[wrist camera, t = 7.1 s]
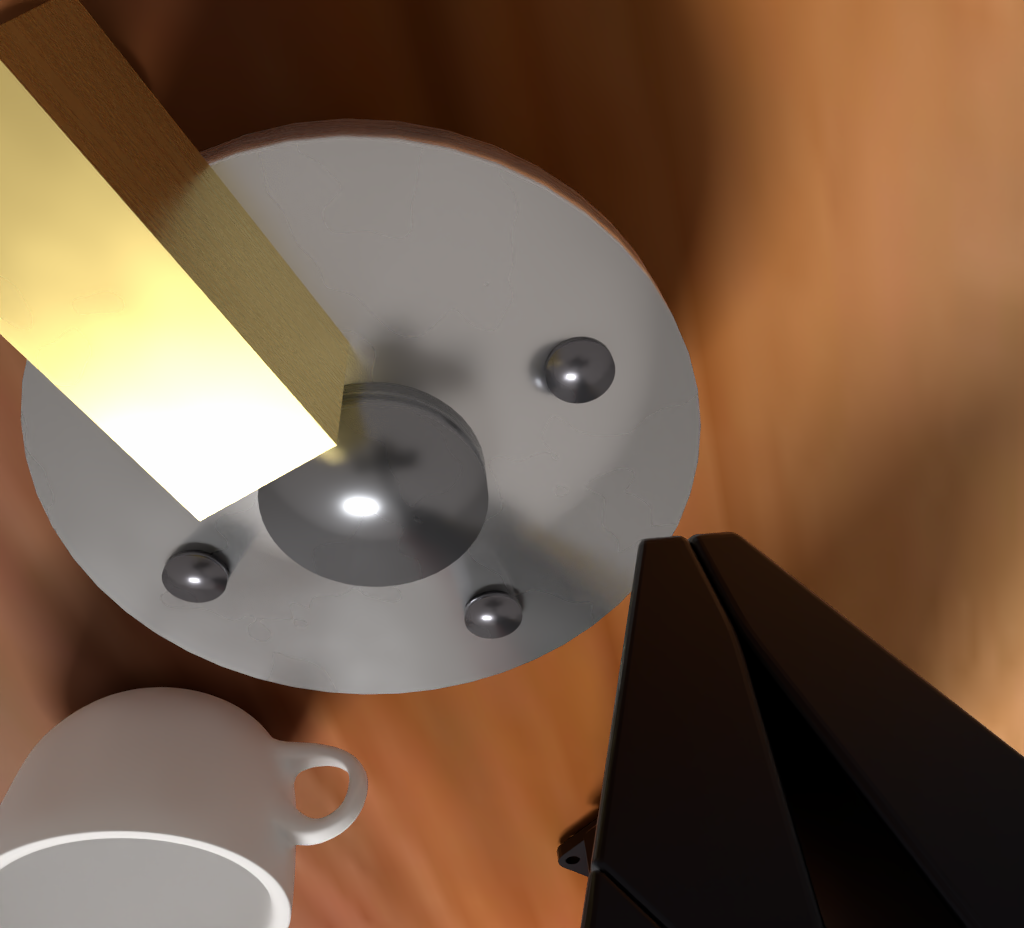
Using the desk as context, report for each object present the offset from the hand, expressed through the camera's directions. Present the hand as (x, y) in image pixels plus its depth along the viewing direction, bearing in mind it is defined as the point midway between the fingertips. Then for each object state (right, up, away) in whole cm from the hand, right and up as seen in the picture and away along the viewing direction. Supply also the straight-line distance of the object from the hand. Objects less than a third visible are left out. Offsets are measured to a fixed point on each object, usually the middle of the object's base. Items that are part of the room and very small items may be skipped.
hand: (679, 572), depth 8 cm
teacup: (-10, -7, +19) cm, 22 cm away
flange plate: (-5, +2, +9) cm, 10 cm away
